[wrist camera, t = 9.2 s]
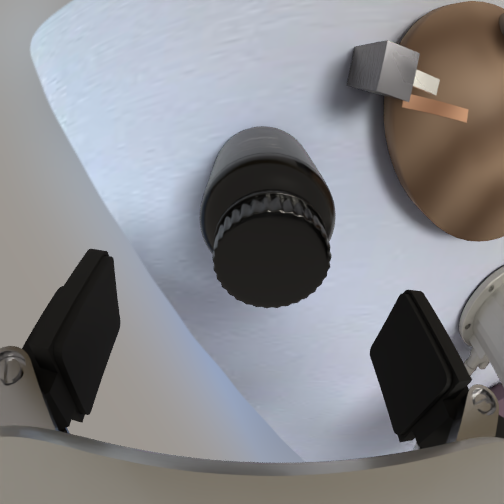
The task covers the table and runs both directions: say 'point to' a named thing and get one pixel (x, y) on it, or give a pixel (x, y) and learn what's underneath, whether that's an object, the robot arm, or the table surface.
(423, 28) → the disc
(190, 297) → the table surface
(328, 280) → the table surface
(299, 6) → the table surface
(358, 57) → the index pointer
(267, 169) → the supplement bottle
